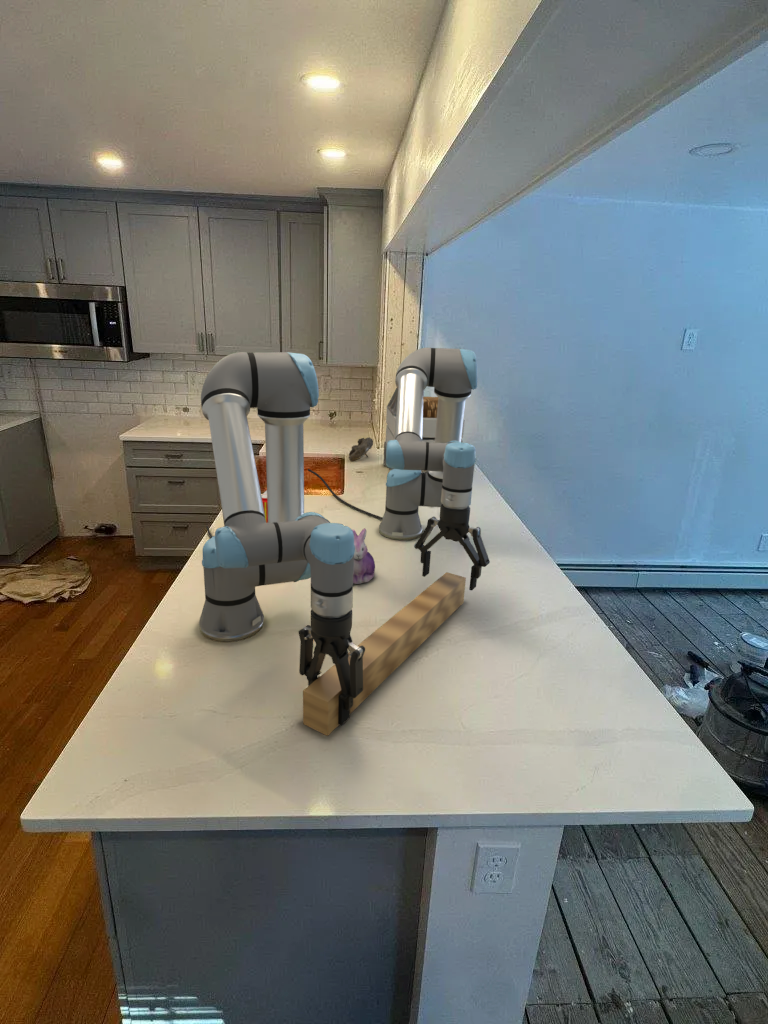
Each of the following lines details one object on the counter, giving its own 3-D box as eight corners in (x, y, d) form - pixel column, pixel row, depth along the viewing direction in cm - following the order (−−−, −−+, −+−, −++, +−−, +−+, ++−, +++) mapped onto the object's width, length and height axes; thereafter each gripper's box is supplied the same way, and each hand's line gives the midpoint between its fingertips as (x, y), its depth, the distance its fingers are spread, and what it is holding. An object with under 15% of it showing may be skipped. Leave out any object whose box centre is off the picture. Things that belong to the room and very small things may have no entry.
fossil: (348, 443, 308) (370, 428, 303) (359, 457, 311) (381, 442, 306) (342, 457, 289) (365, 441, 284) (354, 472, 292) (377, 456, 287)
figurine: (352, 587, 160) (354, 538, 155) (338, 573, 168) (339, 526, 163) (382, 582, 164) (384, 534, 159) (367, 567, 172) (369, 521, 167)
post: (444, 596, 157) (446, 571, 155) (463, 602, 155) (466, 577, 152) (303, 724, 107) (302, 690, 105) (327, 736, 105) (327, 701, 102)
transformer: (382, 463, 289) (386, 382, 275) (445, 464, 293) (451, 384, 279) (390, 482, 257) (394, 392, 243) (460, 483, 261) (468, 394, 247)
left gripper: (277, 602, 103) (280, 706, 111) (363, 634, 94) (359, 745, 102) (303, 586, 109) (304, 686, 117) (387, 615, 100) (381, 722, 108)
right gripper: (404, 498, 145) (400, 574, 152) (497, 519, 133) (487, 600, 140) (418, 492, 151) (413, 564, 158) (508, 511, 139) (498, 588, 146)
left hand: (330, 714), depth 110 cm, fingers closed on post, 6 cm apart
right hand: (448, 581), depth 149 cm, fingers open, 13 cm apart
